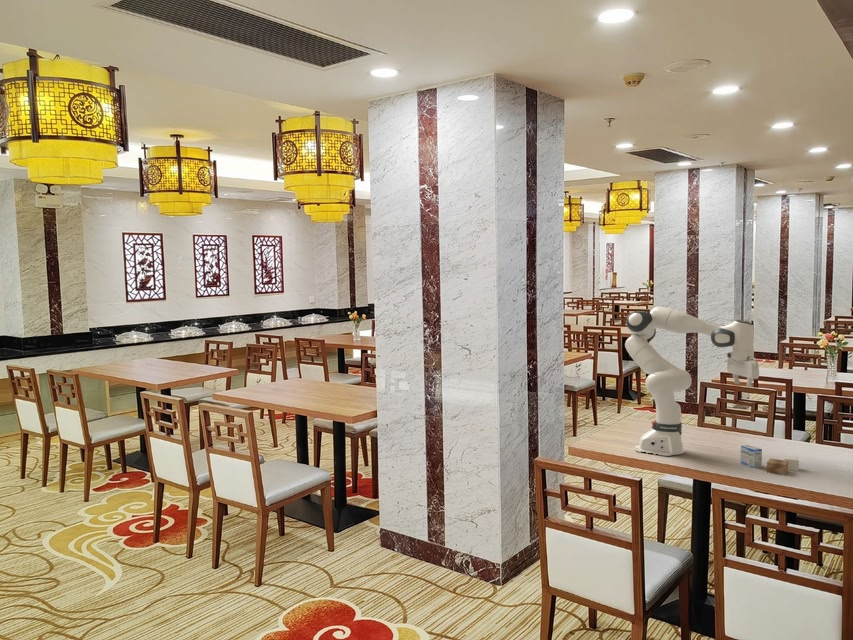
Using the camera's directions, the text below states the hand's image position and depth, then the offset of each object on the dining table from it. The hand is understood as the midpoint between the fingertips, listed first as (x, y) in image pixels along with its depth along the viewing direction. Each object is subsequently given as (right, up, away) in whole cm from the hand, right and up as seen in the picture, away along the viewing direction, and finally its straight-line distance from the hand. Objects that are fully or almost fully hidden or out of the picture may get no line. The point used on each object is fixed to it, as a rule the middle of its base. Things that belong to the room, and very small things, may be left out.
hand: (742, 385), depth 307 cm
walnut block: (+5, -36, -20) cm, 41 cm away
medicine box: (-1, -35, -10) cm, 37 cm away
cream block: (+14, -35, -16) cm, 41 cm away
